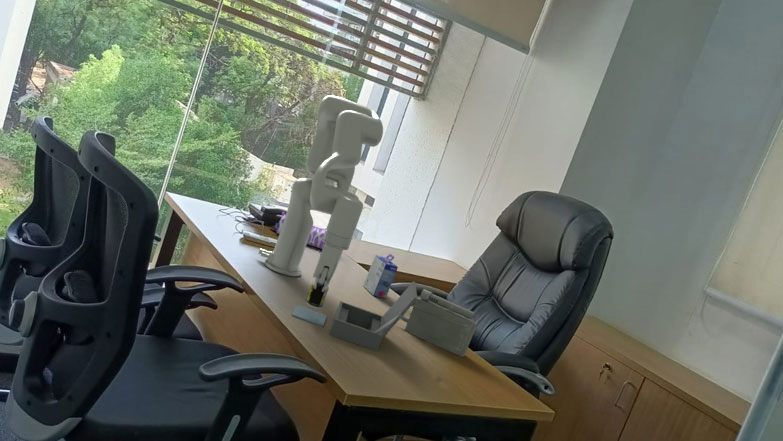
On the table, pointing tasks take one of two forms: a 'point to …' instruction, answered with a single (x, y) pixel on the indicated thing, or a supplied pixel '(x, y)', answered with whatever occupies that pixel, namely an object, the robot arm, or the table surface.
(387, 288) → the ink cartridge box
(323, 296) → the supplement bottle
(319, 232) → the pencil case
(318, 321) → the pad
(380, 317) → the case
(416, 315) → the geiger counter
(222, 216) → the table surface
